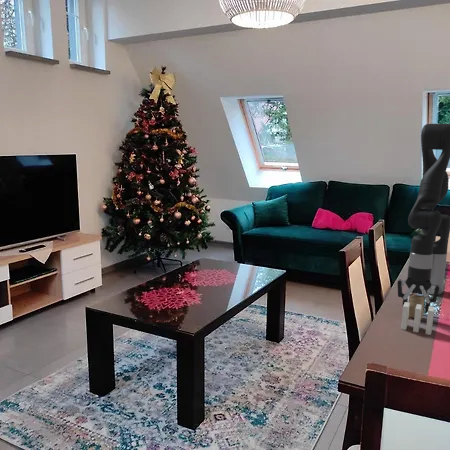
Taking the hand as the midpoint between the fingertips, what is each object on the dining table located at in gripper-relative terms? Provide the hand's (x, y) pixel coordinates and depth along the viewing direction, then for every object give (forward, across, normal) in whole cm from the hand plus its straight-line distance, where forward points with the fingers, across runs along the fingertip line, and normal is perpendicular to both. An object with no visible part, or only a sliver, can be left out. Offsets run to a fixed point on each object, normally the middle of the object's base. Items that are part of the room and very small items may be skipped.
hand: (415, 310), depth 162 cm
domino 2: (+3, 0, 0) cm, 3 cm away
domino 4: (+3, -5, +12) cm, 13 cm away
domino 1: (+3, +2, +12) cm, 12 cm away
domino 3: (+3, -2, +12) cm, 12 cm away
